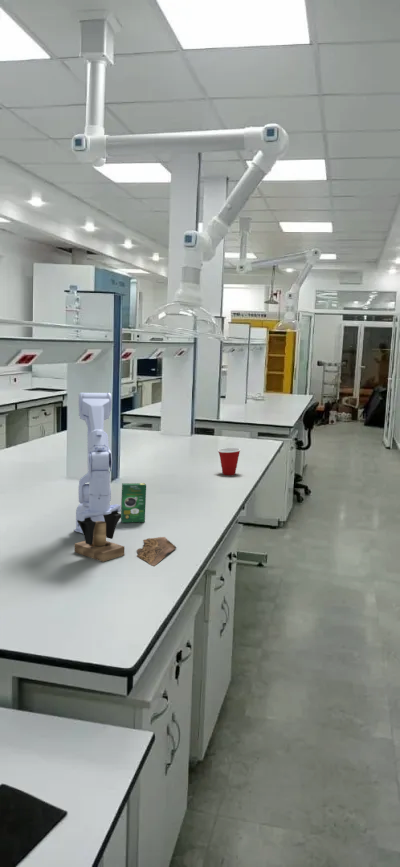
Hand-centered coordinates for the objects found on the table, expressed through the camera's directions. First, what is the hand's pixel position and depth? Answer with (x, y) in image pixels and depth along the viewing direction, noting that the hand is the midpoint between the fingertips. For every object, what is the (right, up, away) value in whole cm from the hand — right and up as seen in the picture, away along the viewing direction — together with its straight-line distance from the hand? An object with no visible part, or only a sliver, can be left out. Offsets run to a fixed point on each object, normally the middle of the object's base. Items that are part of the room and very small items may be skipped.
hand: (99, 540), depth 184 cm
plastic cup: (+42, +11, +118) cm, 126 cm away
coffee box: (+6, +1, +34) cm, 35 cm away
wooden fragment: (+16, -4, +4) cm, 17 cm away
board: (0, -4, 0) cm, 4 cm away
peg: (0, -4, 0) cm, 4 cm away
